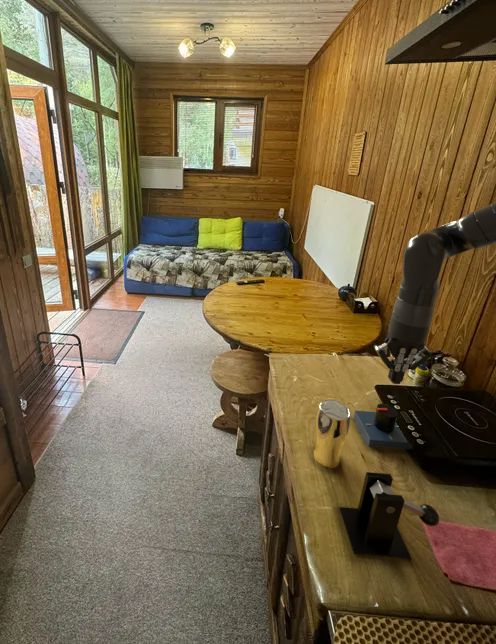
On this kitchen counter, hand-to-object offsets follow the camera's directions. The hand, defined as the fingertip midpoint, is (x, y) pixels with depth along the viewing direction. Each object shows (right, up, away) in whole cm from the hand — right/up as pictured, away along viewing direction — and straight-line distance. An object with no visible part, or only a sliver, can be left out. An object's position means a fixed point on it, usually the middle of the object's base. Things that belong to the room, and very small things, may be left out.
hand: (394, 381), depth 75 cm
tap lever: (-10, -17, -19) cm, 27 cm away
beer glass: (-17, -19, -1) cm, 25 cm away
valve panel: (0, -16, +6) cm, 18 cm away
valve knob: (0, -13, +5) cm, 15 cm away
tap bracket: (-14, -23, -17) cm, 32 cm away
